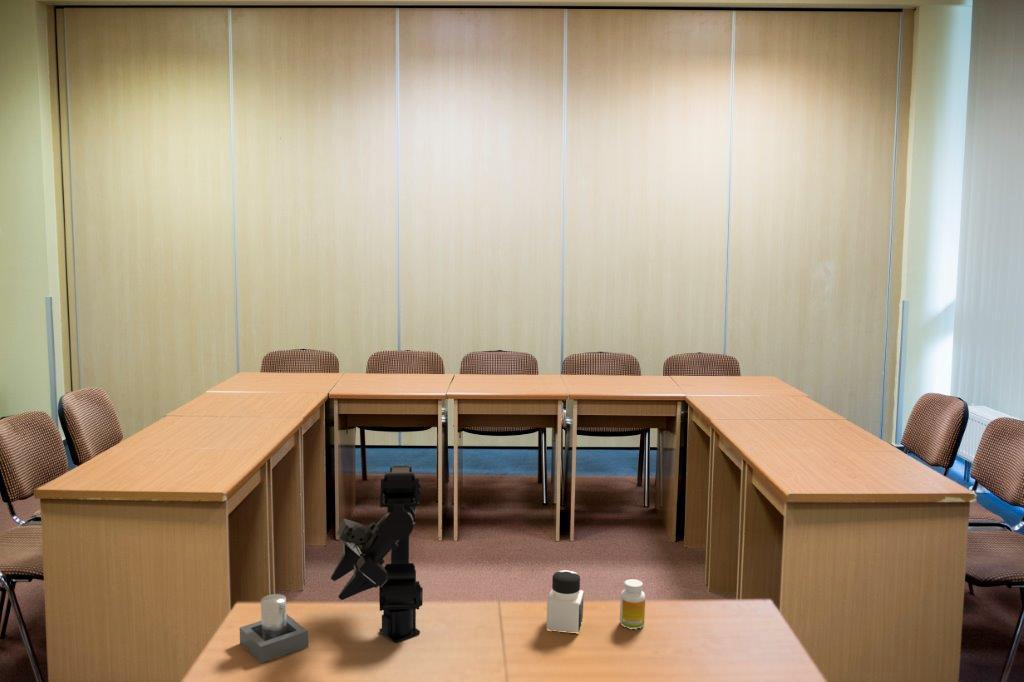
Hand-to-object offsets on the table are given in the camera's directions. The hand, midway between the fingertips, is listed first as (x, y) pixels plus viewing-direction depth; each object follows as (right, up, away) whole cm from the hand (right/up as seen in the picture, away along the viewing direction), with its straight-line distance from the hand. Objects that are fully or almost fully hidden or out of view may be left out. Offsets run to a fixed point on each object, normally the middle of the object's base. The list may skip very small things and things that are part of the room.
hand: (335, 588), depth 167 cm
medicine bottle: (+47, -13, +15) cm, 51 cm away
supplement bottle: (+62, -13, +16) cm, 66 cm away
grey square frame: (-14, -13, +4) cm, 19 cm away
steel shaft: (-14, -13, +4) cm, 19 cm away
